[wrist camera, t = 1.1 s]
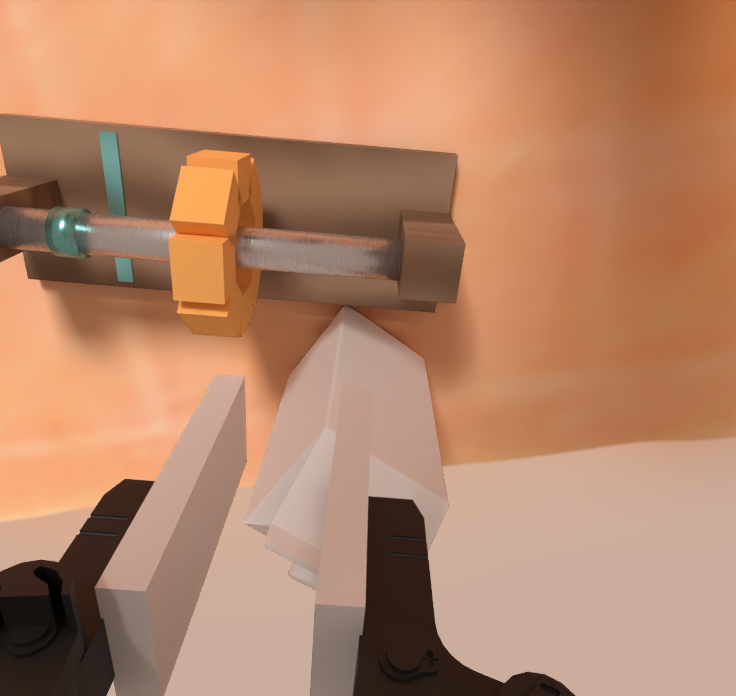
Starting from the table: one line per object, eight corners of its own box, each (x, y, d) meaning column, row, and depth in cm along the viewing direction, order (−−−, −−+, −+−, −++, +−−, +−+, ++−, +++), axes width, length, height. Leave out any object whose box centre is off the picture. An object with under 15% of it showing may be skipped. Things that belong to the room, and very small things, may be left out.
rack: (5, 113, 32) (-104, 121, 25) (455, 153, 32) (477, 173, 25) (36, 273, 36) (-48, 320, 29) (433, 307, 37) (446, 360, 30)
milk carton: (345, 302, 37) (316, 488, 20) (425, 358, 39) (461, 573, 22) (288, 374, 39) (219, 594, 22) (366, 423, 41) (357, 662, 24)
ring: (220, 143, 31) (161, 164, 22) (262, 147, 31) (219, 170, 22) (226, 294, 35) (178, 359, 26) (263, 297, 35) (227, 363, 27)
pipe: (-13, 195, 29) (-47, 204, 27) (430, 233, 29) (434, 245, 27) (-2, 242, 30) (-34, 255, 28) (424, 278, 31) (427, 294, 28)
